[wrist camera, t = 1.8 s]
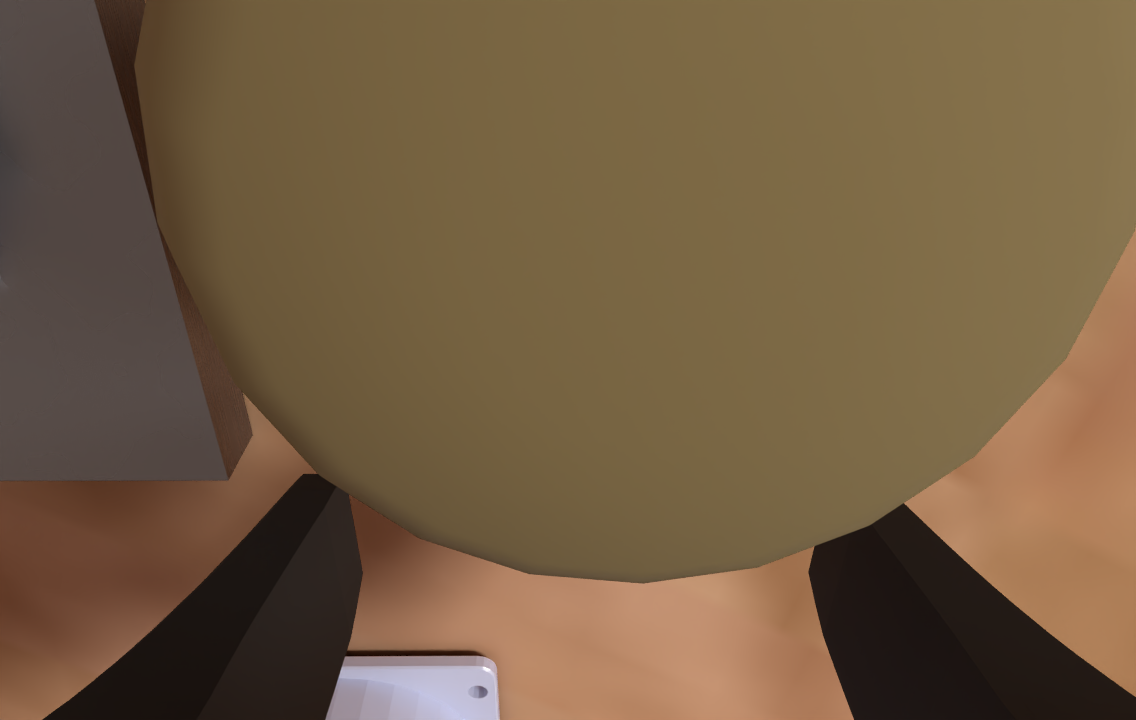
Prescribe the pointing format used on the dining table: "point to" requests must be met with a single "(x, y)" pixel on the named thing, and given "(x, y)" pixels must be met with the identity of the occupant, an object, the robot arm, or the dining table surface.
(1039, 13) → the cork
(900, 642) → the robot arm
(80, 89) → the plate
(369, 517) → the dining table surface
